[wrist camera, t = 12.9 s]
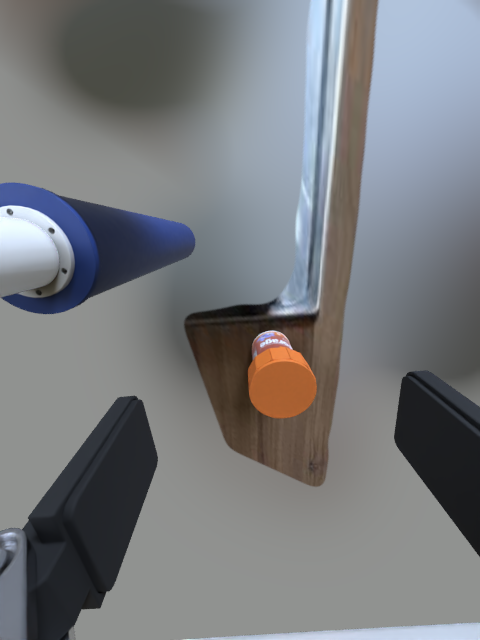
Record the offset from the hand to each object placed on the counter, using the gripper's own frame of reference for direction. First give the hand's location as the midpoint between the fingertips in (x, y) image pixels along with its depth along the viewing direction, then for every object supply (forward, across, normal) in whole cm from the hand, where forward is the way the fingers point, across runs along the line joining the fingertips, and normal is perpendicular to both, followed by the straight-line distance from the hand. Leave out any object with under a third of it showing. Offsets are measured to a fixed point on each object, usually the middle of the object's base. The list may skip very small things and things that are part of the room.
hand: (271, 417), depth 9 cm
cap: (+20, -3, +11) cm, 23 cm away
